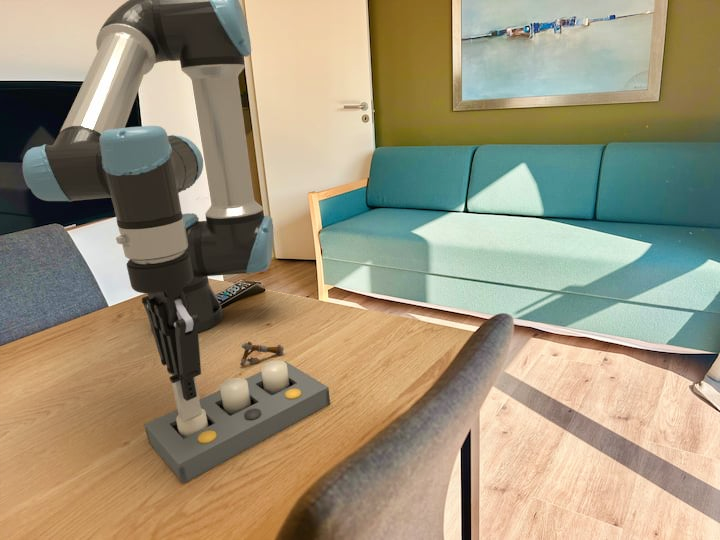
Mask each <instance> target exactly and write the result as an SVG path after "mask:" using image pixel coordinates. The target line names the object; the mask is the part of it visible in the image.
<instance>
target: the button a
mask: <svg viewBox="0 0 720 540" xmlns="http://www.w3.org/2000/svg"><path fill="white" fill-rule="evenodd" d="M201 411H202V413H201V414H198V415H196V416H194V417H192V418H190V419H188V420H186V421H183V420H182V419H181V418H180V417H179V415H178V416H177V418H176V422H177V426H178V431H177V432H178V434H179V435H180V436H181V437H182V438H183V439H184V438H186V437H188V436H190V435H192V434H194V433H196V432H198V431H200V430H202V429H204V428H206V427H208V426H209V423H208V422H209V421H208V418H207V417H206V412H205V410H204V409H202V408H201Z"/></svg>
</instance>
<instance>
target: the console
mask: <svg viewBox="0 0 720 540" xmlns="http://www.w3.org/2000/svg"><path fill="white" fill-rule="evenodd" d="M283 361H284V360H283ZM284 362H285V363H286V364H287V370H288V378H289V383H291V384H292V385H289V386H290V387H288V388H286V389H284V390H282V391H280V392H278V393H276V394H274V395H270V394H268V393H267V392H266V391H264V386H263V379H262V372H261V371H260V372H258V373H255V374H252V375H251V376H249V377H247V378H245V379H246V380H247V383H248V389H249V395H250V400H252V401H254V402H255V403H254V404H251V406H249V407H247V408H245V409H243V410H241V411H239V412H237V413H235V414H233V415H229V414H227V413H226V412H225V411H224V408H223V402H222V397H221V391H220V389H219V390H217V391H215V392H213V393H211V394H209V395H207V396H204V397H202V398H199V401H200V406H201V408H202V409H204V410H205V412H206V417H207V420H209V421H210V422H211V423H212V424H211V425H208V427H206V428H204V429H202V430H200V431H198V432H196V433H194V434H192V435H190V436H188V437H186V438H184V439H183V438H182V437H181V436H180V435H179V431H178V426H177V422H176V418H177V416H178V415H179V414H178V409H175V410H172V411H171V412H168V413H166V414H164V415H162V416H160V417H157V418H154V419H152V420H151V421H148V422H146V423H144V429H145V432H146V437H147V440H148V443H149V444H150V446H151V447H152V448H153V449H154V450H155V451H156V453H157V454H158V455H159V456H160V458H161V459H162V460H163V461H164V462H165V464H166V466H168V467H169V468H170V469H171V471H172V472H173V473H174V475H175V476H176V477H177V478H178V479H179V481H180V482H181V483H182V484H183V485H184V484H185V483H187V482H189V481H191V480H193V479H194V478H196V477H199V476H201V475H202V474H204V473H205V472H208V471H210V470H211V469H214V468H215V467H217V466H219V465H221V464H222V463H224V462H226V461H227V460H228V461H229V460H230V459H232V458H233V457H235V456H237V455H239V454H241V453H243V452H245V451H247V450H248V449H250V448H251V447H254V446H255V445H257V444H258V443H261V442H263V441H264V440H266V439H268V438H270V437H272V436H274V435H276V434H277V433H279V432H281V431H283V430H284V429H287V428H288V427H290V426H292V425H294V424H296V423H297V422H300V421H301V420H303V419H305V418H307V417H309V416H311V415H313V414H314V413H316V412H318V411H319V410H322V409H323V408H325V407H327V406H329V405H331V400H330V399H331V398H330V390H329V389H330V388H329V386H328V385H326V384H325V383H322V382H321V381H319V380H317V379H316V378H314V377H312V376H311V375H309V374H307V373H306V372H304V371H303V370H301V369H299V368H298V367H296V366H294V365H292V364H291V363H289V362H287V361H284Z"/></svg>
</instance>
